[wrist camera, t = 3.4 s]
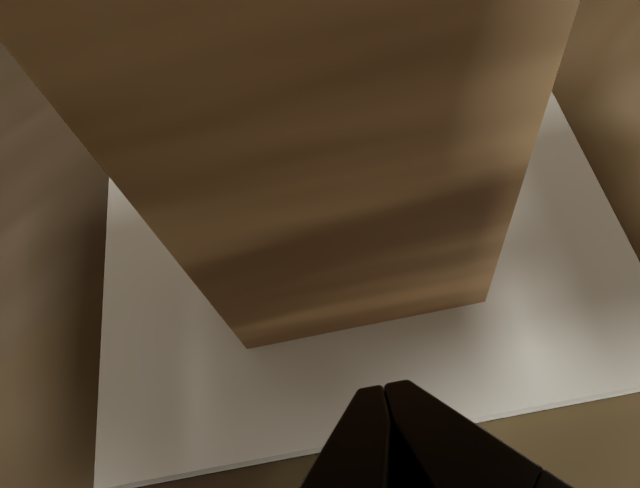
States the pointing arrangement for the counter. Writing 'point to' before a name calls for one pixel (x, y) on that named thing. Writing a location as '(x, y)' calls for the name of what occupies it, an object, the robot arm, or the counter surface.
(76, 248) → the counter surface
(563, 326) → the grey mat
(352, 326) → the oak block
